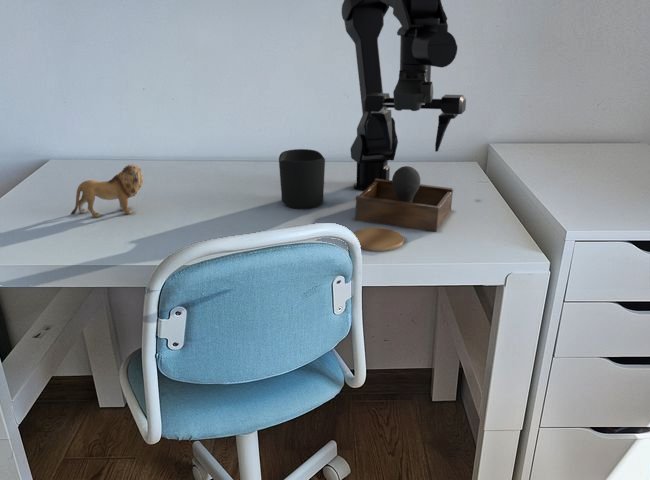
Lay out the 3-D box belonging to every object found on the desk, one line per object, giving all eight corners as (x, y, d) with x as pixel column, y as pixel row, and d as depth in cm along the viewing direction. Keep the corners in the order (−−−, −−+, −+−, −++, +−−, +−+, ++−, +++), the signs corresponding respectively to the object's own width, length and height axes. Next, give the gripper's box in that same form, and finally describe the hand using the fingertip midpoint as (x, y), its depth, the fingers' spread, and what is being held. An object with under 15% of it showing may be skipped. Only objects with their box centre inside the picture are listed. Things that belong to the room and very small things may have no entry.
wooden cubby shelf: (354, 220, 139) (355, 196, 137) (375, 200, 149) (375, 178, 147) (436, 232, 134) (438, 208, 132) (451, 210, 145) (453, 188, 142)
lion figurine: (144, 203, 145) (138, 160, 140) (149, 212, 140) (143, 167, 136) (69, 213, 139) (60, 168, 134) (72, 222, 135) (63, 176, 130)
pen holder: (333, 200, 149) (333, 153, 144) (310, 213, 142) (309, 164, 137) (295, 192, 153) (294, 146, 147) (271, 205, 145) (269, 157, 140)
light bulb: (421, 213, 143) (425, 165, 138) (412, 222, 139) (415, 172, 134) (396, 209, 145) (399, 161, 140) (386, 217, 141) (388, 168, 136)
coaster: (342, 246, 127) (342, 243, 127) (360, 227, 135) (360, 224, 135) (394, 254, 125) (394, 251, 124) (409, 235, 133) (409, 232, 132)
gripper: (354, 66, 123) (355, 156, 130) (460, 67, 119) (455, 160, 126) (370, 61, 133) (370, 145, 140) (468, 62, 129) (463, 149, 136)
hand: (413, 150), depth 135 cm, fingers open, 9 cm apart
